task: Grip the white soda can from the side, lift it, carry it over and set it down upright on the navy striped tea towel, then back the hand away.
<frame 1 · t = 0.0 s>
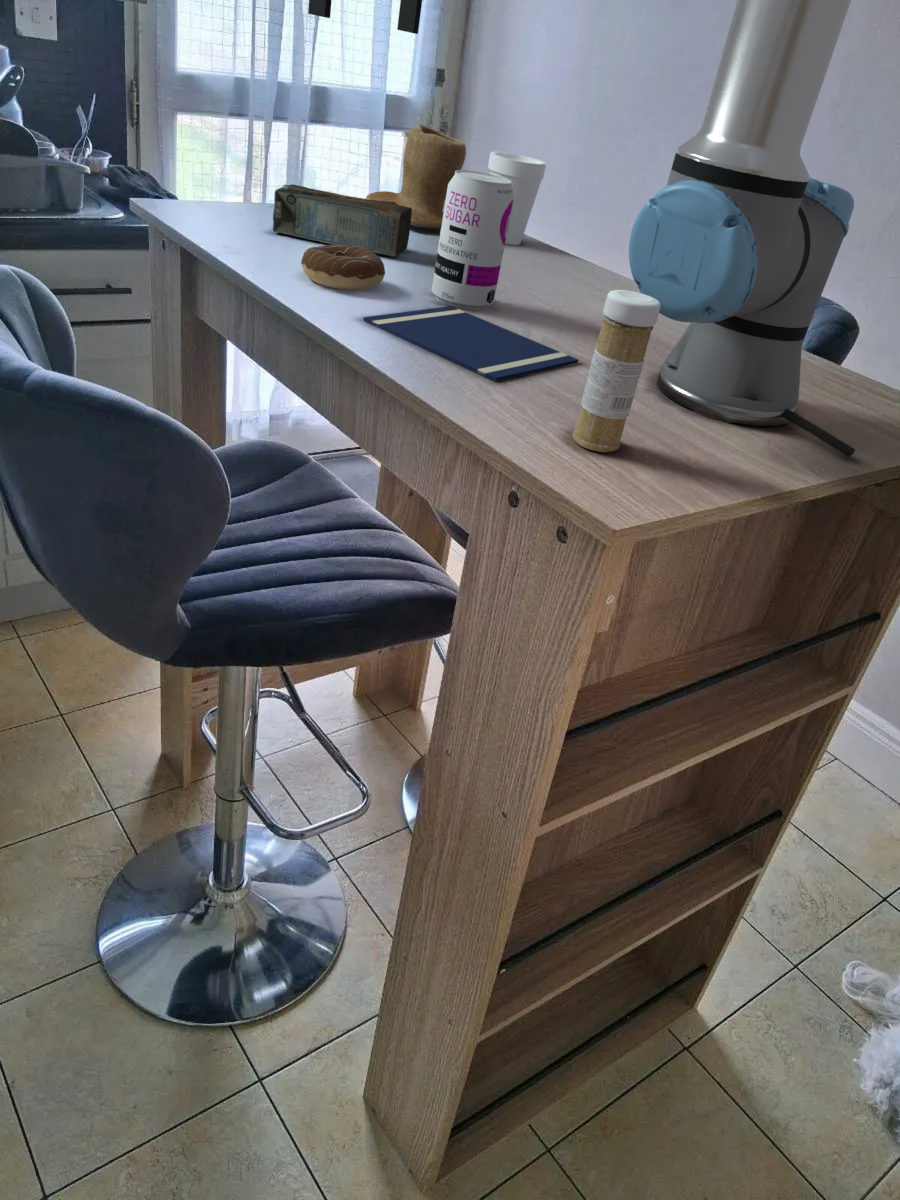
hand: (365, 24, 101), 28 cm above the table, tool pointing down, fingers open, 13 cm apart
donut: (342, 283, 115), on the table
beverage carton: (340, 243, 133), on the table
sprinkles bottle: (594, 445, 83), on the table
tan boot: (413, 224, 155), on the table
tea towel: (470, 341, 102), on the table
foam cup: (502, 240, 156), on the table
white soda can: (461, 302, 117), on the table
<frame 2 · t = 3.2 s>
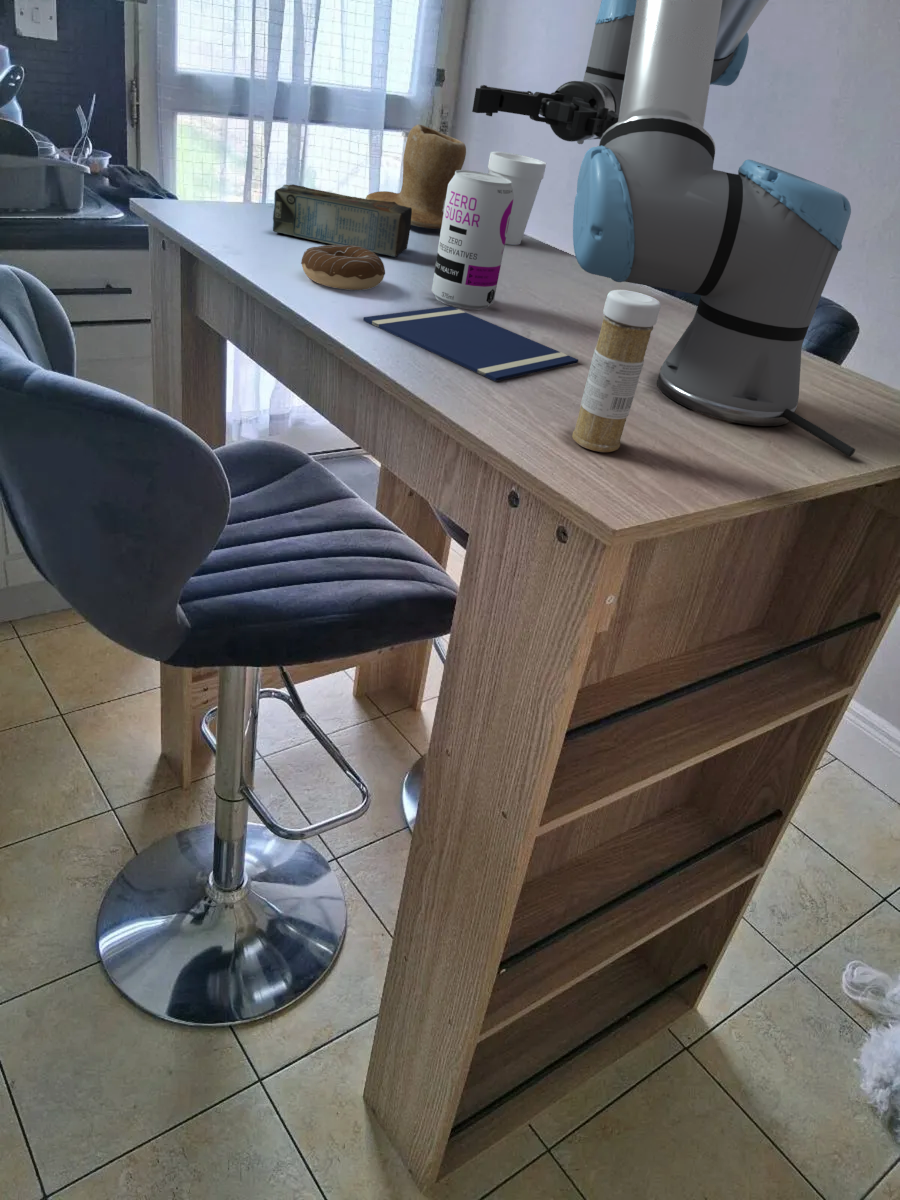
hand: (524, 112, 112), 22 cm above the table, tool horizontal, fingers open, 13 cm apart
nothing on the table moved.
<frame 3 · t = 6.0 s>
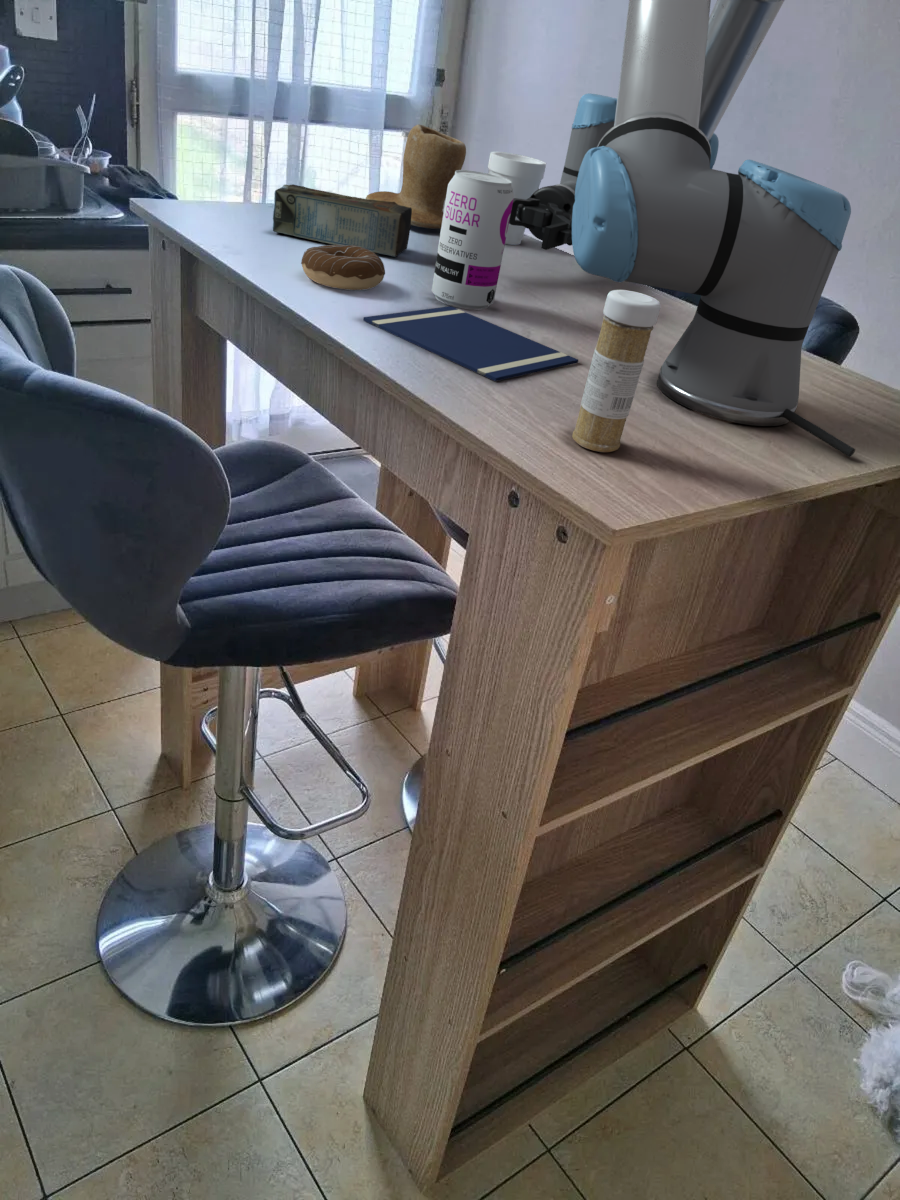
hand: (498, 225, 118), 9 cm above the table, tool horizontal, fingers open, 13 cm apart
nothing on the table moved.
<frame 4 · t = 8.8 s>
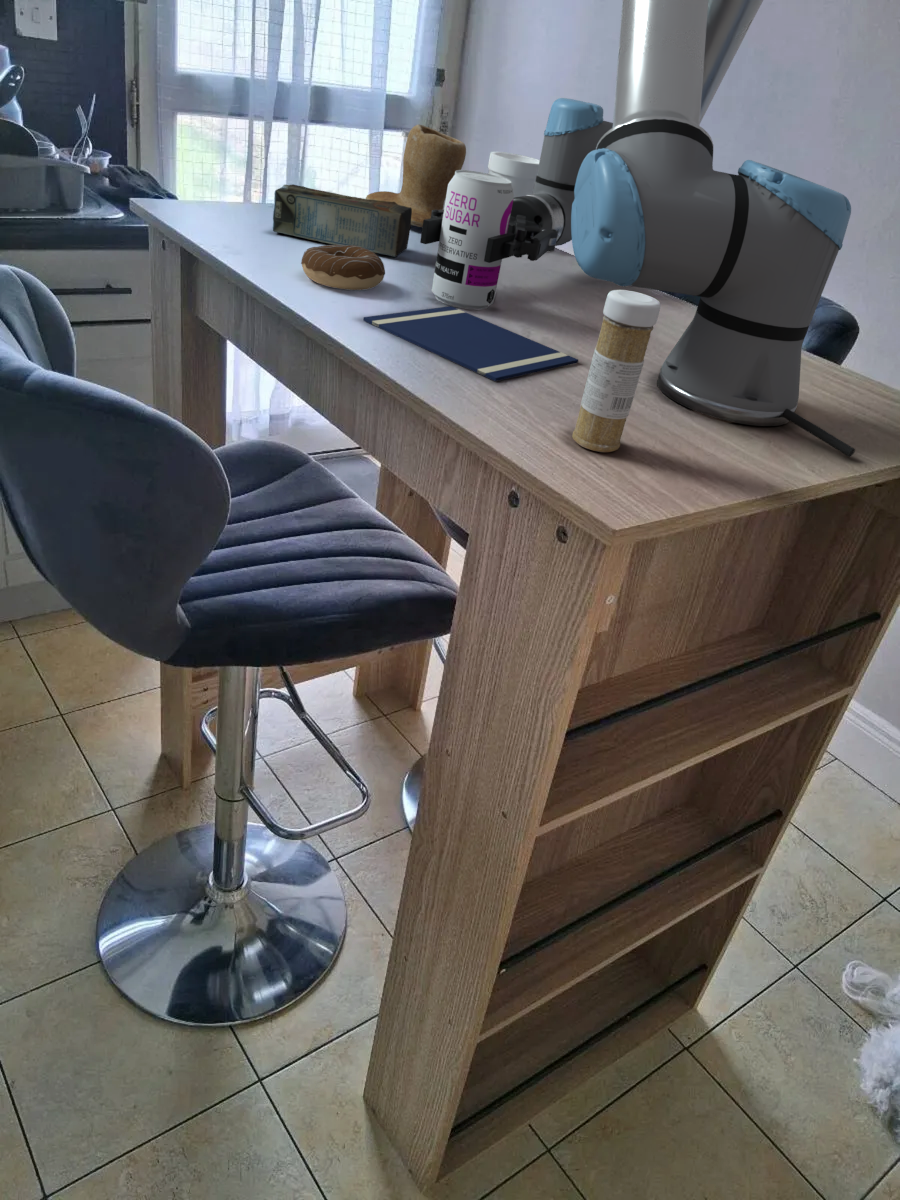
hand: (456, 241, 109), 8 cm above the table, tool horizontal, fingers closed on white soda can, 8 cm apart
white soda can: (461, 302, 117), on the table, touching gripper
everything else where it was.
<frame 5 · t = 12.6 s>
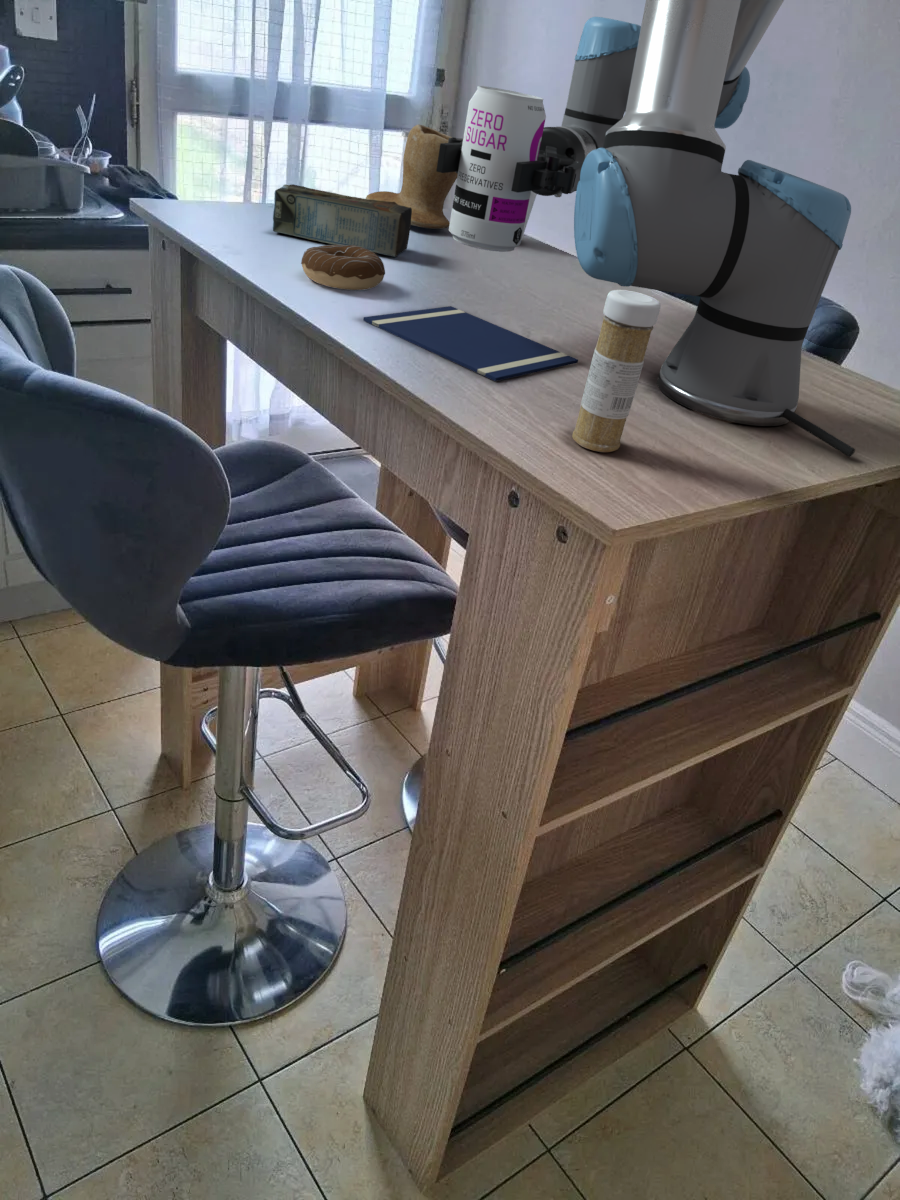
hand: (478, 167, 93), 18 cm above the table, tool horizontal, fingers closed on white soda can, 8 cm apart
white soda can: (483, 245, 101), point 10 cm above the table, touching gripper
everything else where it was.
when the fingers open (8 cm above the table, at t = 16.3 s): white soda can stays where it is, resting on tea towel.
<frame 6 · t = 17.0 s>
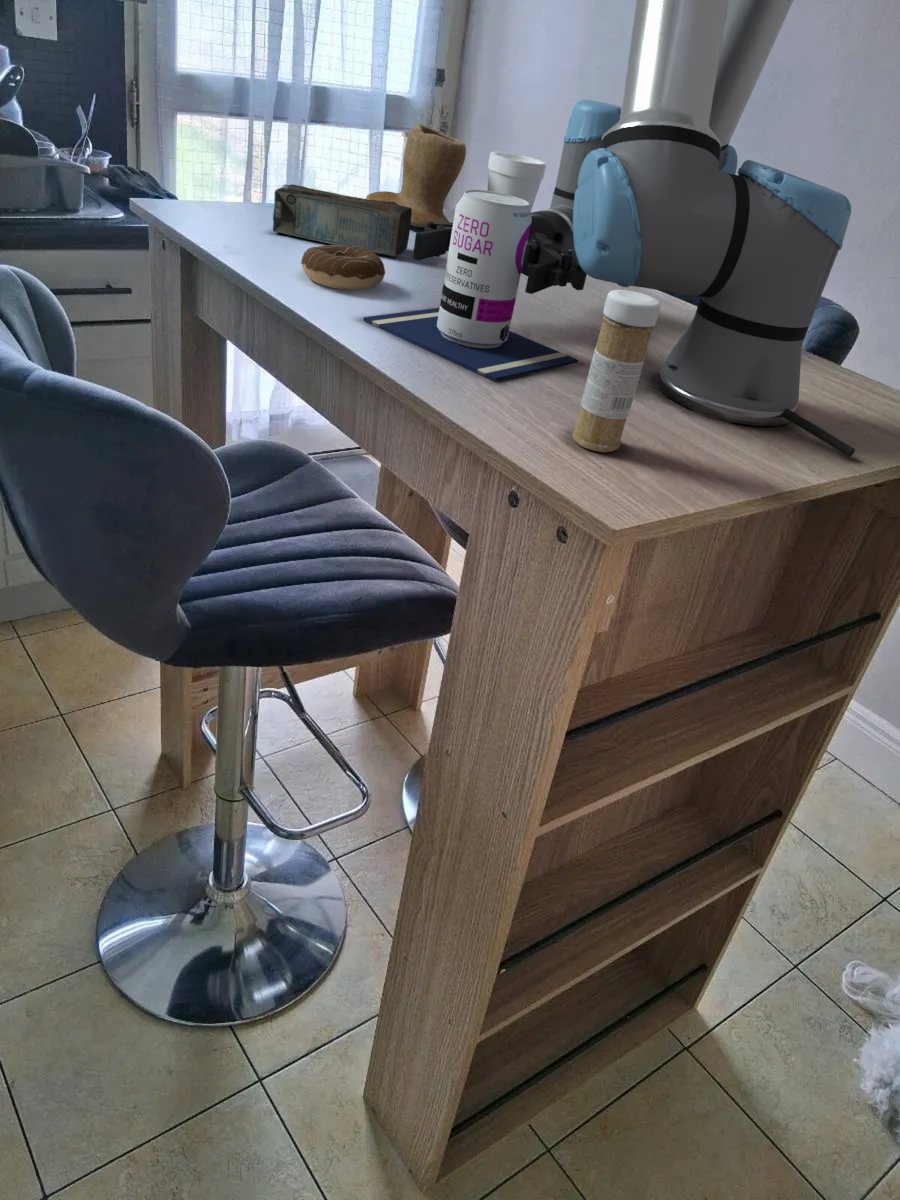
hand: (472, 263, 95), 9 cm above the table, tool horizontal, fingers open, 13 cm apart
white soda can: (470, 339, 102), resting on tea towel
everything else where it was.
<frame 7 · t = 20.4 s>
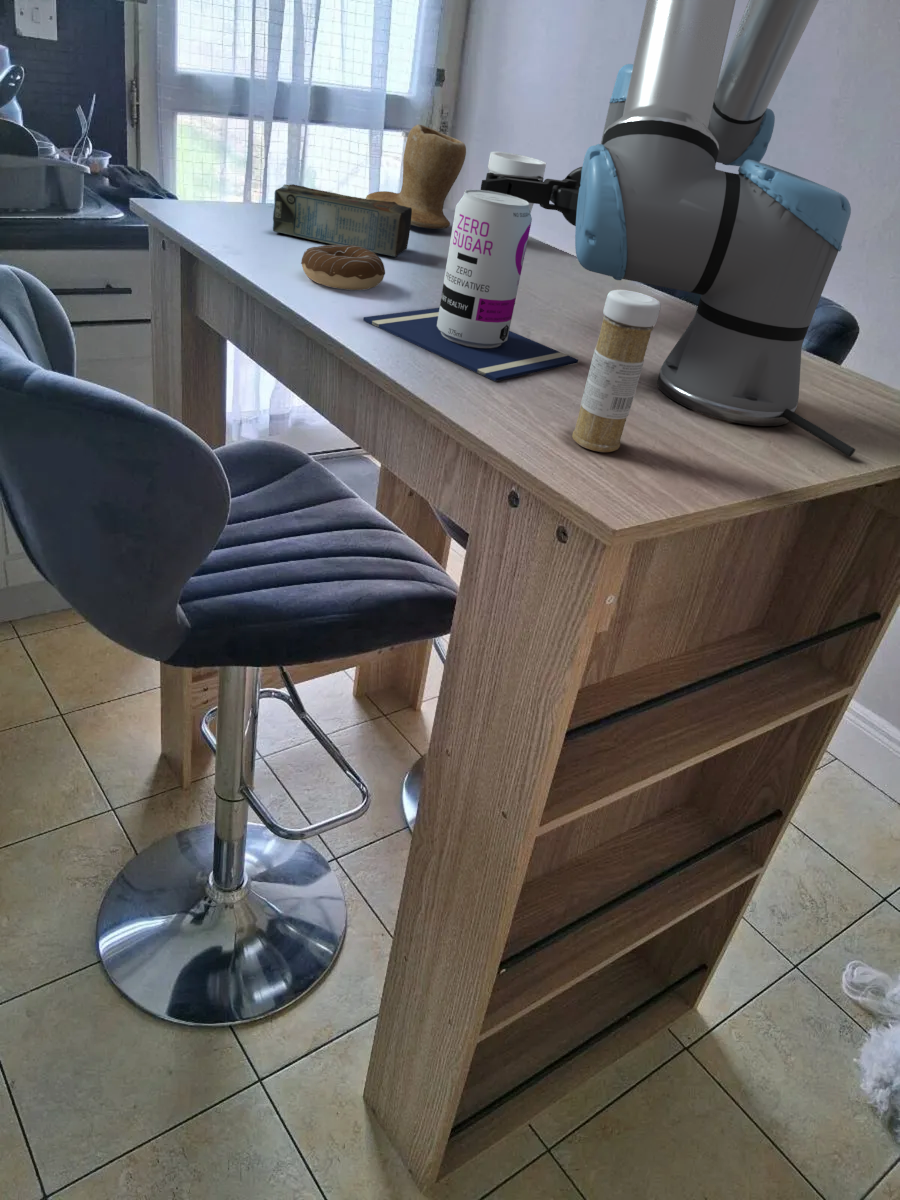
hand: (534, 206, 104), 14 cm above the table, tool horizontal, fingers open, 13 cm apart
nothing on the table moved.
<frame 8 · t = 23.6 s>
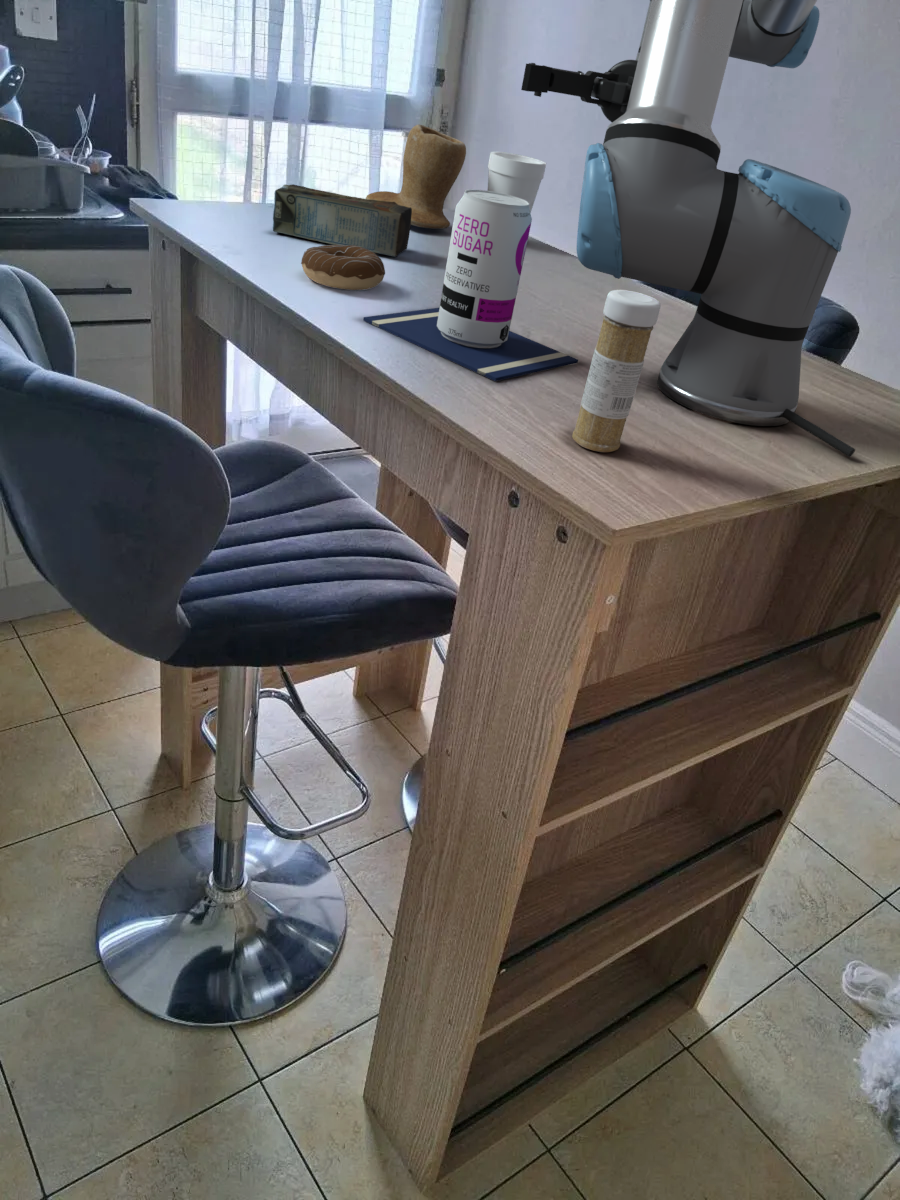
hand: (580, 89, 102), 26 cm above the table, tool horizontal, fingers open, 13 cm apart
nothing on the table moved.
at the end: white soda can inside the target area on the tea towel (0.1 cm from its centre), point 0.2 cm above the tea towel's base; white soda can tilted 0°; the gripper is holding nothing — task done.
